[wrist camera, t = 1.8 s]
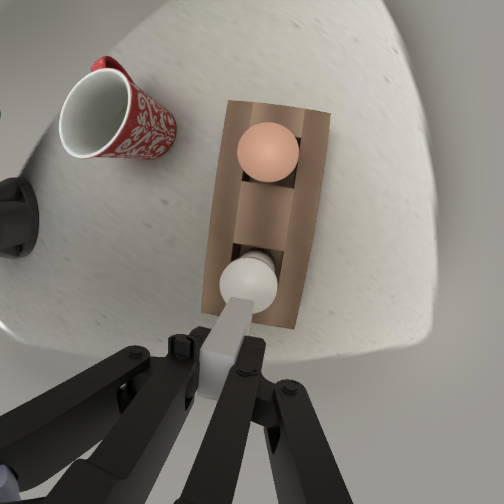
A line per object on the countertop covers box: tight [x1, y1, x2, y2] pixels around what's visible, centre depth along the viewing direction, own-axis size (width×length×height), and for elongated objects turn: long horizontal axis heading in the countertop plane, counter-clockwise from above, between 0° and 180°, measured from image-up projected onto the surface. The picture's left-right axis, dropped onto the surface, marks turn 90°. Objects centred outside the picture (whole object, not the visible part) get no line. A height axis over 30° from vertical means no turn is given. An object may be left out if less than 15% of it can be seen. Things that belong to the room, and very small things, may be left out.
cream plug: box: [219, 248, 278, 314], centre depth 27 cm, size 5×5×7 cm
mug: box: [59, 56, 176, 159], centre depth 27 cm, size 13×9×14 cm
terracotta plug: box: [237, 122, 299, 182], centre depth 24 cm, size 5×5×7 cm
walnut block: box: [201, 100, 331, 329], centre depth 30 cm, size 10×22×7 cm, turn 172°
